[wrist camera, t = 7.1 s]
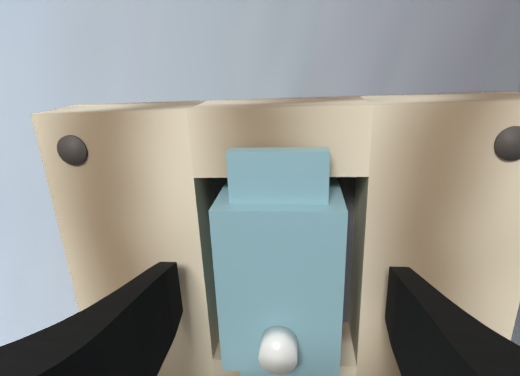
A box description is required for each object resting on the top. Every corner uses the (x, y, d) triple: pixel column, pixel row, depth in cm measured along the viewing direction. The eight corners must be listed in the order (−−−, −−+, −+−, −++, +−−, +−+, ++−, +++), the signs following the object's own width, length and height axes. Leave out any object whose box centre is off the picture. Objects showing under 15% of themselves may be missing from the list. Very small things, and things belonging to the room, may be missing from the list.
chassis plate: (515, 91, 12) (569, 100, 10) (463, 365, 16) (493, 420, 14) (76, 104, 14) (28, 114, 12) (126, 348, 18) (98, 395, 16)
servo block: (336, 129, 13) (355, 165, 9) (329, 331, 16) (339, 434, 12) (229, 130, 14) (196, 165, 9) (241, 327, 17) (220, 425, 12)
